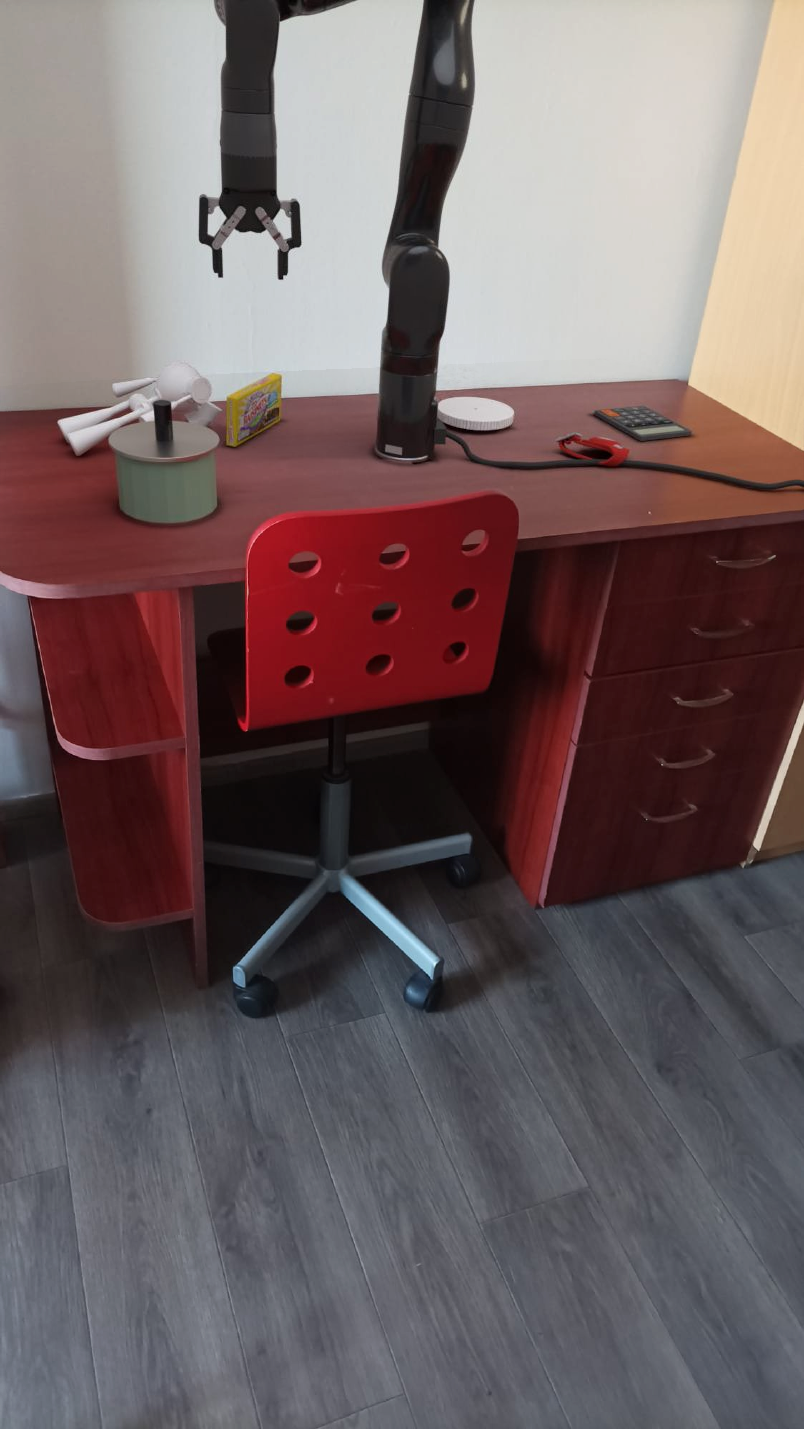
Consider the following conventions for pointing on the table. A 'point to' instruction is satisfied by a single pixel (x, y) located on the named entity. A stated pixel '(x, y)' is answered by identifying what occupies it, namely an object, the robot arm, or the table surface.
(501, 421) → the plastic lid
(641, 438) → the calculator
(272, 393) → the candy box
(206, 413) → the toy robot
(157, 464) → the tin
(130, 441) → the lid
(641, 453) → the table surface
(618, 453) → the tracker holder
